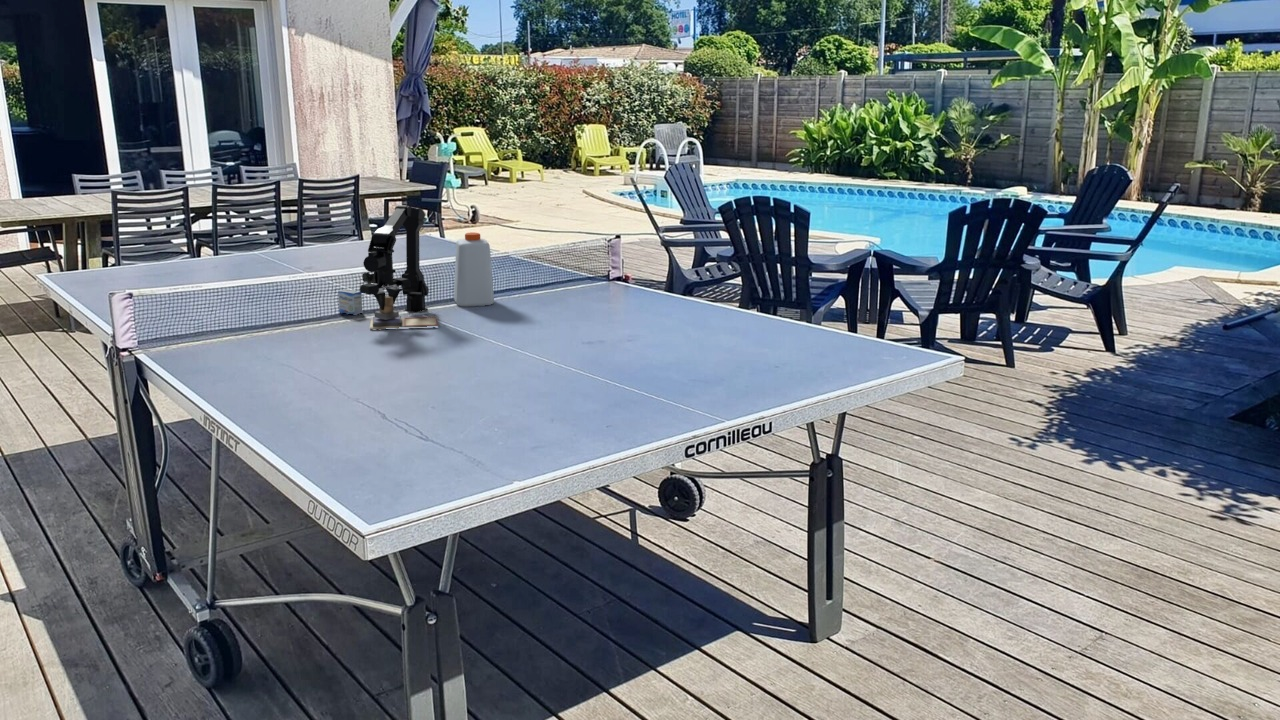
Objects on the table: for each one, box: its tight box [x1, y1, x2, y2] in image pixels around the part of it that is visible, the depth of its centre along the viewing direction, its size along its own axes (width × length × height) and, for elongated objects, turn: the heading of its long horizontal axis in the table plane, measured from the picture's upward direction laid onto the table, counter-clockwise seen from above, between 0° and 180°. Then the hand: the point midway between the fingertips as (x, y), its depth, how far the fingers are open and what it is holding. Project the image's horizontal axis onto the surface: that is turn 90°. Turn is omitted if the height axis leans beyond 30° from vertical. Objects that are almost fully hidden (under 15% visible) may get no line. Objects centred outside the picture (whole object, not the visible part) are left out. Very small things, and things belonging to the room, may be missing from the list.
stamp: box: [374, 294, 400, 320], centre depth 364 cm, size 6×6×8 cm
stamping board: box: [369, 315, 439, 330], centre depth 367 cm, size 24×12×2 cm, turn 103°
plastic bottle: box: [453, 231, 495, 308], centre depth 400 cm, size 15×15×28 cm
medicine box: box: [337, 288, 363, 314], centre depth 381 cm, size 8×4×9 cm, turn 62°
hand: (386, 309), depth 364 cm, fingers closed on stamp, 3 cm apart
